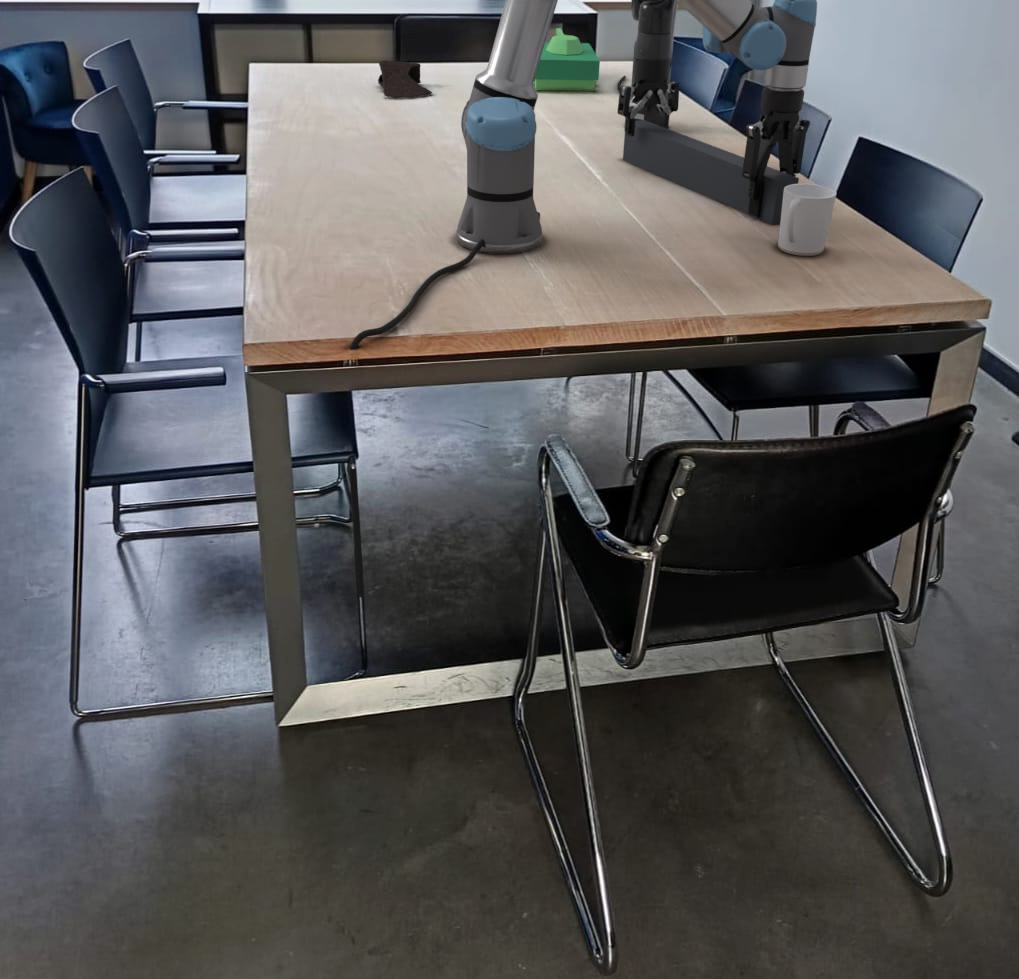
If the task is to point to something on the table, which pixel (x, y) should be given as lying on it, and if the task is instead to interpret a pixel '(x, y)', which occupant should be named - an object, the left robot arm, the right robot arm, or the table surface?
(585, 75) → the toy tank
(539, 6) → the left robot arm
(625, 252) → the table surface
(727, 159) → the beam
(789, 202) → the mug
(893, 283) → the table surface
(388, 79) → the axe head
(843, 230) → the table surface
